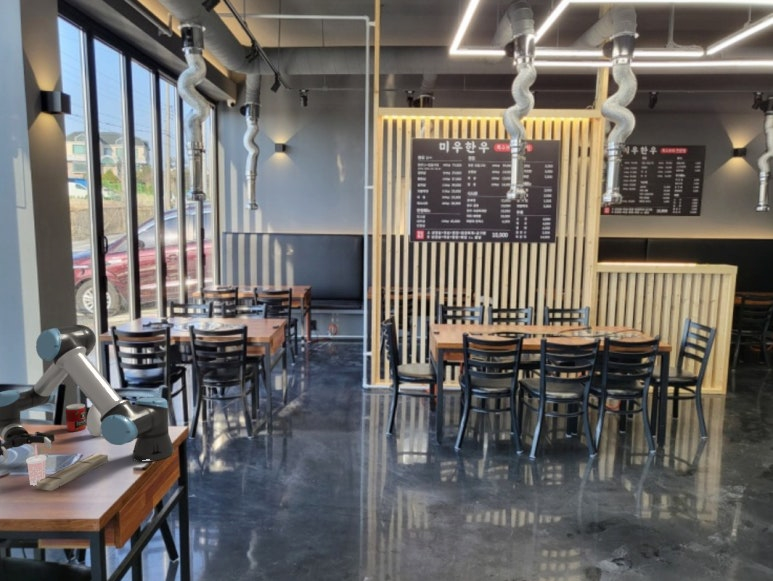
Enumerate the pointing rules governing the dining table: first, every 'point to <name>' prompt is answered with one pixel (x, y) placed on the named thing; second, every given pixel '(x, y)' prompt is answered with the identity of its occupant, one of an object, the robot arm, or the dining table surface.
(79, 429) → the canned food
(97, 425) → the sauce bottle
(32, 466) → the beverage cup
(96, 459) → the maple strip
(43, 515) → the dining table surface
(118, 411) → the robot arm
